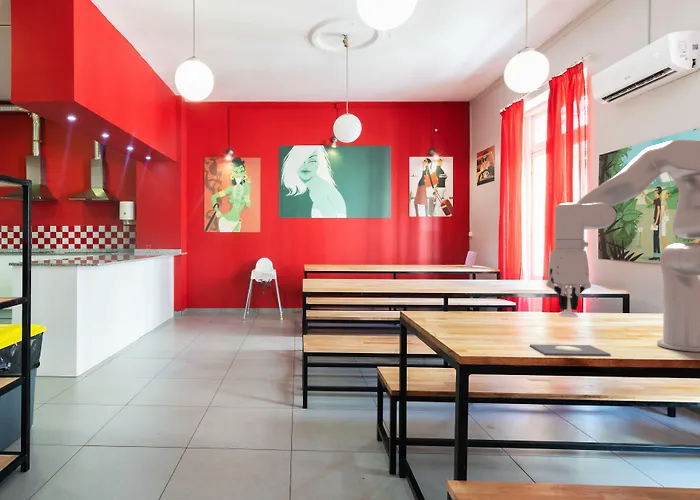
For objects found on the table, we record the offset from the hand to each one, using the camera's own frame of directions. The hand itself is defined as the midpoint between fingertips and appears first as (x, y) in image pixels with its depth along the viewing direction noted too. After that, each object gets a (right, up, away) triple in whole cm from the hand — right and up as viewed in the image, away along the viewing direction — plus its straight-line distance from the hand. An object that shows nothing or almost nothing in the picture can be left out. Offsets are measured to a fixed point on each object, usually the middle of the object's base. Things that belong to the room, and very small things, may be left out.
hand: (568, 308), depth 127 cm
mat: (0, -12, 0) cm, 12 cm away
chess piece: (0, -2, 0) cm, 2 cm away
